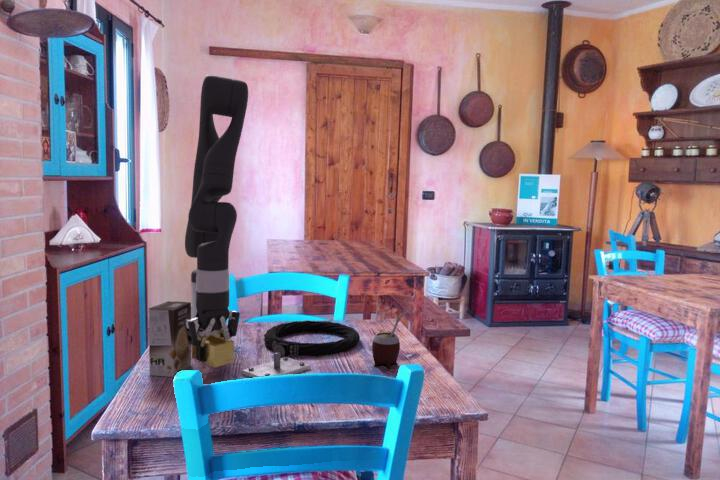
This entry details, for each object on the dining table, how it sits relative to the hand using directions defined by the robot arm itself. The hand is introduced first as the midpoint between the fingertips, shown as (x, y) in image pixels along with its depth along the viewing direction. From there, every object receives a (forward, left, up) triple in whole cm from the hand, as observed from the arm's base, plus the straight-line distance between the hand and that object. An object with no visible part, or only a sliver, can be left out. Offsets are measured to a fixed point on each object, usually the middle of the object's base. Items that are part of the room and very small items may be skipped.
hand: (212, 357), depth 131 cm
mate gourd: (+26, +34, -5) cm, 43 cm away
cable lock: (-2, +34, -5) cm, 35 cm away
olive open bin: (0, 0, -1) cm, 1 cm away
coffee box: (-10, -5, -5) cm, 12 cm away
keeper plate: (+9, +12, -4) cm, 16 cm away
